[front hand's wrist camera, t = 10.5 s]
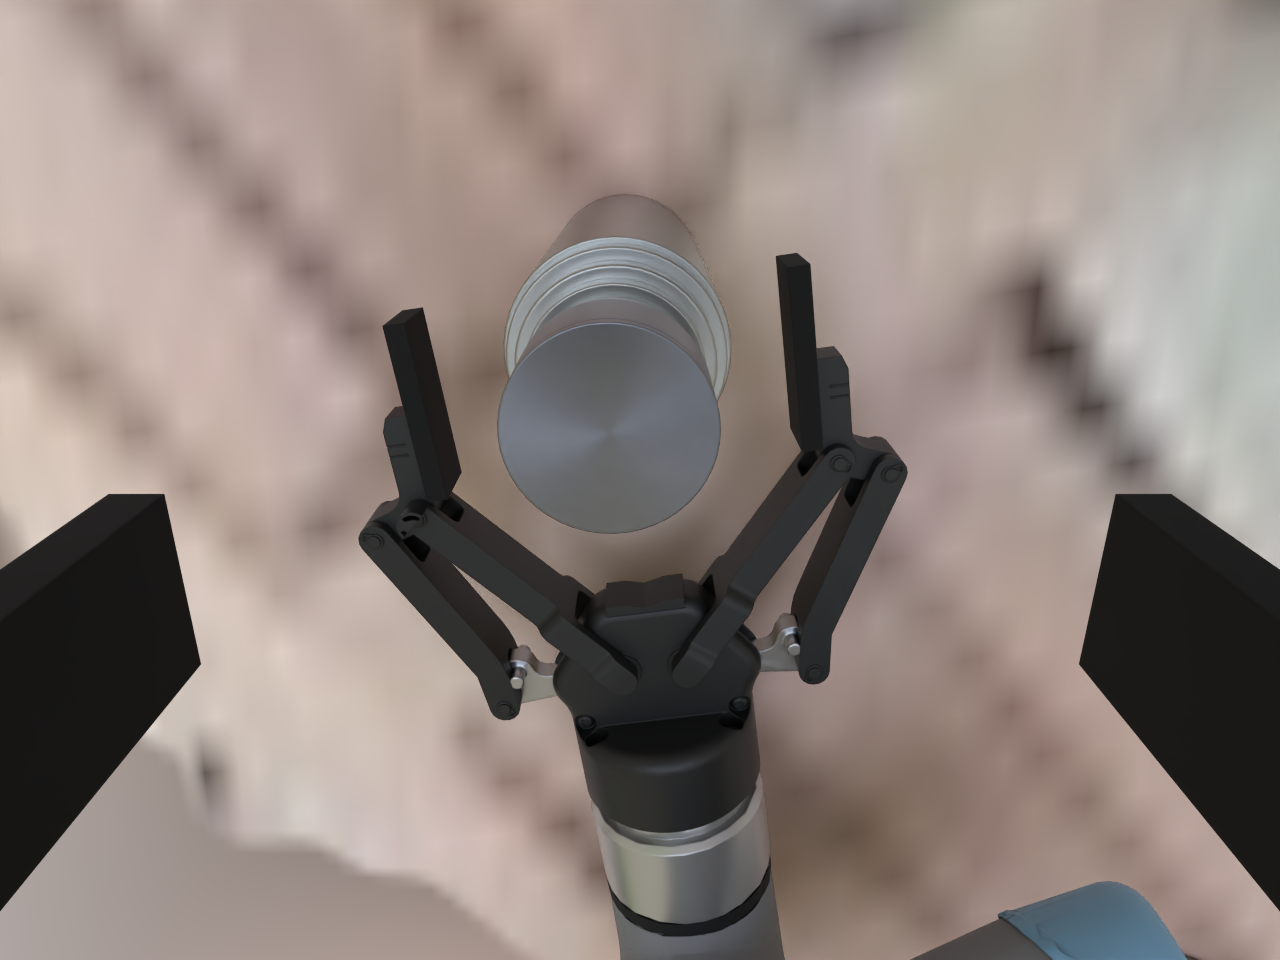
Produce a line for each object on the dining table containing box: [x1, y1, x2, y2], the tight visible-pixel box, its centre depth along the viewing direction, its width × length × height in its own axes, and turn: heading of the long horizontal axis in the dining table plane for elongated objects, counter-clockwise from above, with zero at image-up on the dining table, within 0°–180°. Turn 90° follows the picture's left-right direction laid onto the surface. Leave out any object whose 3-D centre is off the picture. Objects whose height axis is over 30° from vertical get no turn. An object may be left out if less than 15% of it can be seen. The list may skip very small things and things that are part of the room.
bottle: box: [504, 195, 731, 402], centre depth 27 cm, size 6×6×20 cm
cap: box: [497, 299, 721, 534], centre depth 19 cm, size 4×4×2 cm
